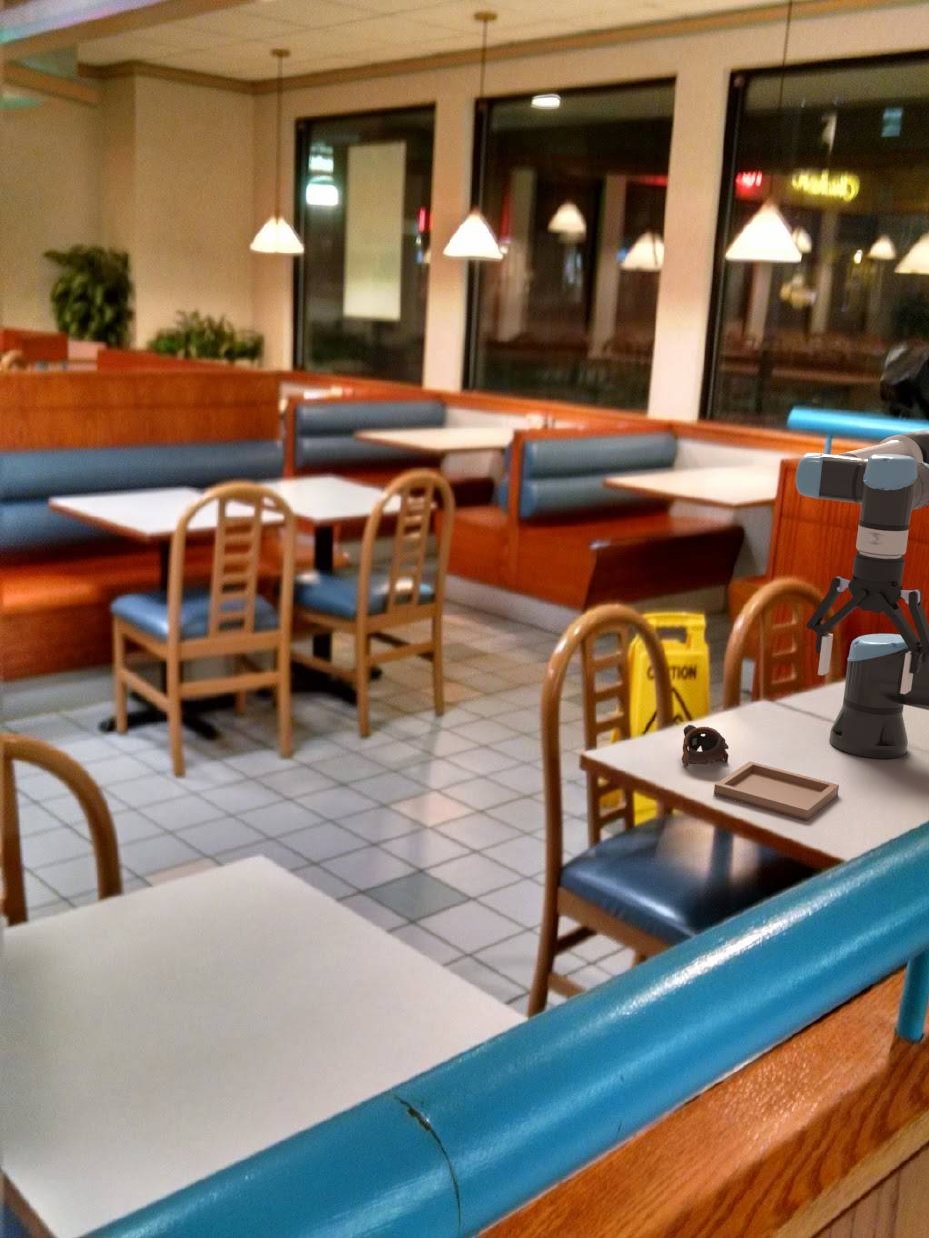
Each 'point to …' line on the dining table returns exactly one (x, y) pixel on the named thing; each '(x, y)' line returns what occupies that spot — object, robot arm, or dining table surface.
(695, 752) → the pottery mug
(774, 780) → the serving tray
